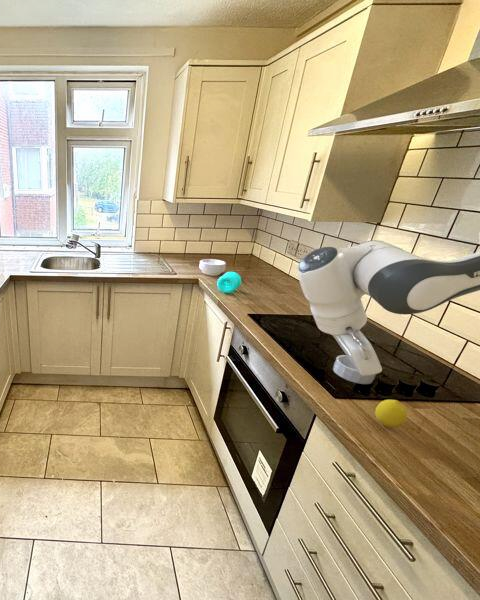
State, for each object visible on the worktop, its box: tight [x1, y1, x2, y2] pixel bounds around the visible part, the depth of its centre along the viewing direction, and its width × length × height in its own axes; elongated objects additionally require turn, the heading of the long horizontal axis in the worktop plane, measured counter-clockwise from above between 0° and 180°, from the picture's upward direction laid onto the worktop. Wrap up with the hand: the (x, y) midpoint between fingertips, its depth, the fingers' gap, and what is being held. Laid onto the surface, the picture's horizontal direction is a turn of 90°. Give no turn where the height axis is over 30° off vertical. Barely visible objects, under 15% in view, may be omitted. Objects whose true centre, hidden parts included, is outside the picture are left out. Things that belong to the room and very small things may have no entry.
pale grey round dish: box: [332, 354, 377, 385], centre depth 100 cm, size 10×10×4 cm
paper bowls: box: [198, 258, 227, 277], centre depth 197 cm, size 15×15×8 cm
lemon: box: [374, 399, 408, 428], centre depth 79 cm, size 6×6×8 cm
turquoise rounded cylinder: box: [216, 271, 242, 294], centre depth 168 cm, size 10×10×10 cm
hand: (356, 360), depth 74 cm, fingers closed
